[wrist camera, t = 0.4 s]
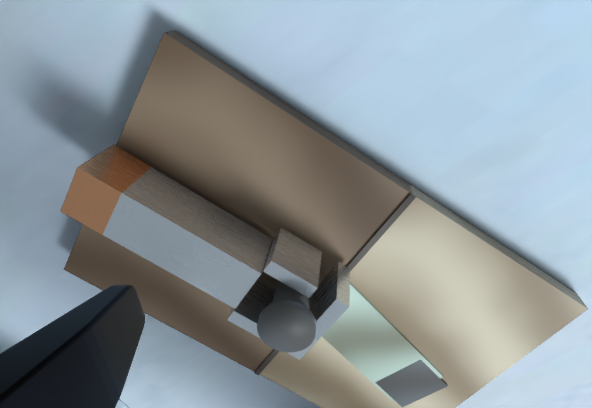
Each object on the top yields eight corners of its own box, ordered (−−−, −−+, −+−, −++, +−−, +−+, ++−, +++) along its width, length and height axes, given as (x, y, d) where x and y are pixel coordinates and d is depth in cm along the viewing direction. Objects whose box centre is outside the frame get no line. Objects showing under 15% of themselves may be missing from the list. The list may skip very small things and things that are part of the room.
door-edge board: (397, 432, 29) (406, 522, 24) (75, 257, 25) (9, 321, 20) (576, 293, 22) (640, 378, 17) (175, 30, 18) (111, 43, 14)
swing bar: (350, 268, 21) (349, 306, 19) (305, 318, 23) (299, 359, 20) (119, 130, 19) (83, 150, 17) (91, 197, 21) (55, 225, 18)
